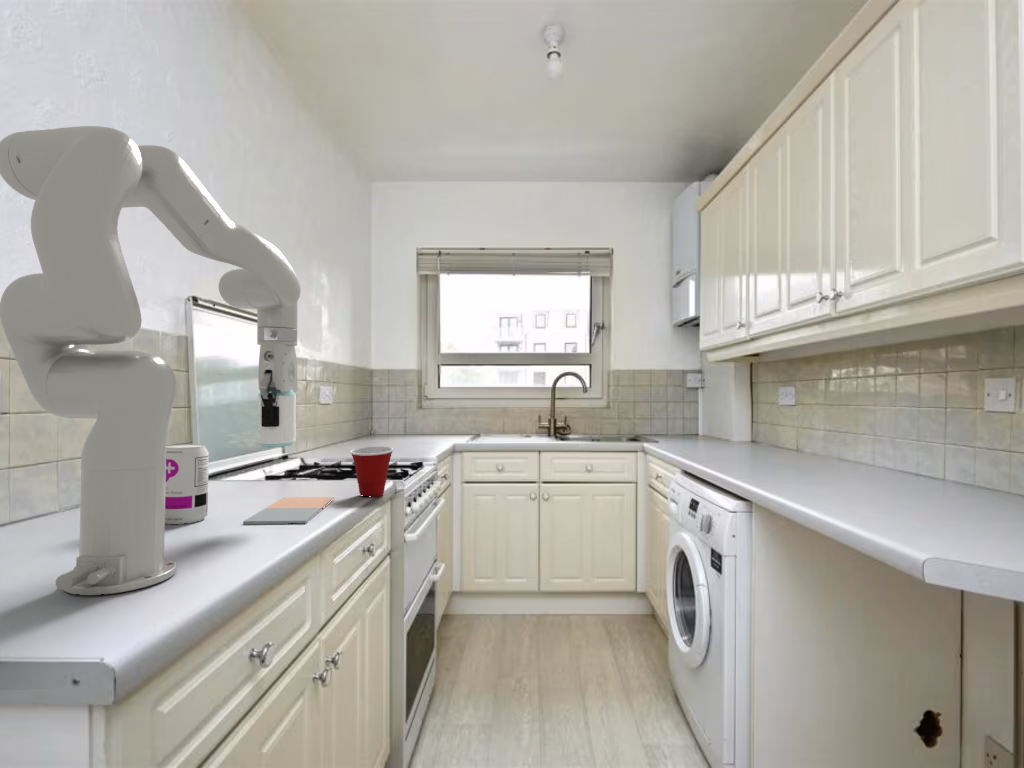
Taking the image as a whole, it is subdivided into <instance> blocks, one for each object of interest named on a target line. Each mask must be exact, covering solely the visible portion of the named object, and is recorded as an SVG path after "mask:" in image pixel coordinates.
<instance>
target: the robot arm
mask: <svg viewBox="0 0 1024 768" xmlns="http://www.w3.org/2000/svg"><path fill="white" fill-rule="evenodd" d="M0 176H1V178H2V179H3V181H4V182H6V184H7V185H8V186H9V187H10V188H12V189H13V190H14V191H15V192H17V193H18V194H20V195H22V196H24V197H25V198H28V199H30V200H34V203H33V207H32V211H31V216H30V233H31V237H32V238H31V239H32V243H33V245H34V249H35V251H36V255H37V258H38V261H39V265H40V269H41V273H32V274H31V273H30V274H28V275H27V274H26V275H24V276H20V277H17V278H16V279H15V280H13V281H12V282H11V283H9V284H8V285H7V287H6V288H5V290H4V291H3V292H2V295H1V299H0V323H1V327H2V329H3V332H4V334H5V337H6V339H7V341H8V344H9V346H10V348H11V350H12V354H14V358H15V360H16V362H17V365H18V367H19V369H20V372H21V374H22V375H23V378H24V381H25V383H26V384H27V387H28V389H29V391H30V393H31V395H32V397H33V398H34V400H35V401H36V402H37V404H38V405H39V406H40V407H41V408H42V409H43V410H45V411H46V412H47V413H49V414H51V415H54V416H57V417H61V418H67V419H89V420H91V419H92V420H93V419H94V420H95V419H96V421H95V422H94V424H93V426H92V427H91V429H90V432H89V433H88V435H87V437H86V438H85V441H84V443H83V447H82V452H81V460H80V461H81V464H80V469H81V474H80V475H81V477H80V508H79V509H80V514H79V515H80V517H79V547H78V548H79V551H78V553H79V554H78V556H77V557H76V559H75V560H76V563H75V567H74V568H73V569H71V570H69V571H67V572H64V573H63V574H60V575H59V576H57V578H56V579H55V586H56V588H57V589H59V590H60V591H65V592H66V593H68V594H71V595H76V594H80V595H79V596H100V595H101V594H104V595H112V594H119V593H125V592H131V591H135V590H139V589H143V588H146V587H151V586H153V585H156V584H159V583H162V582H164V581H166V580H168V579H169V578H171V577H173V576H174V575H175V574H176V573H177V562H175V560H173V559H171V558H165V529H166V528H165V527H166V526H165V525H166V524H165V490H166V446H168V444H167V442H168V441H167V440H168V430H169V423H170V420H171V419H170V418H171V415H172V410H173V406H174V402H175V399H176V394H177V378H176V374H175V372H174V370H173V368H172V367H171V365H170V364H169V363H168V362H167V361H165V359H163V358H161V357H159V356H157V355H156V354H153V353H150V352H145V351H139V350H98V351H96V350H95V351H93V350H90V346H89V345H91V346H92V345H93V346H95V345H98V346H99V345H100V346H101V345H113V344H120V343H123V342H126V341H129V340H132V338H134V337H135V336H137V334H138V333H139V331H140V330H141V327H142V321H143V320H142V313H141V308H140V304H139V300H138V297H137V294H136V291H135V288H134V285H133V283H132V280H131V276H130V272H129V270H128V267H127V264H126V260H125V258H124V253H123V251H122V247H121V244H120V240H119V234H118V225H119V224H118V223H119V219H120V214H121V211H122V209H125V208H141V207H142V208H146V209H148V210H149V211H150V212H151V213H152V214H153V215H154V216H155V218H157V219H158V221H160V222H161V224H163V226H164V227H165V228H166V229H167V230H168V231H169V232H170V233H171V234H172V236H174V238H175V239H176V240H177V241H178V242H179V243H180V245H182V246H183V248H185V249H186V250H187V251H189V252H190V253H193V254H196V255H197V256H201V257H203V258H206V259H210V260H213V261H216V262H220V263H224V264H228V265H231V266H236V267H238V268H236V269H232V270H228V271H227V272H225V273H224V274H222V276H221V277H220V279H219V282H218V291H219V295H220V297H221V298H222V300H223V301H224V302H225V303H227V304H228V305H230V306H231V307H233V308H237V309H243V310H244V309H245V310H246V309H248V310H249V309H253V310H256V311H257V312H256V313H257V319H256V320H257V324H256V325H257V326H256V327H257V330H256V331H257V332H256V333H257V335H256V337H257V338H256V339H257V342H256V344H257V345H259V346H260V347H259V357H258V358H259V359H258V374H257V375H258V378H257V379H258V380H257V381H258V390H259V393H260V392H261V399H262V400H261V406H262V427H278V426H279V406H277V404H278V398H279V392H280V391H281V393H287V392H289V391H290V390H291V388H290V387H293V388H292V390H293V391H294V393H296V392H297V391H298V388H299V386H298V383H299V381H298V366H297V365H298V364H297V353H296V347H297V346H298V301H299V299H300V297H301V291H302V290H301V283H300V280H299V277H298V275H297V273H296V272H295V270H294V269H293V267H292V265H291V264H290V263H289V261H288V259H287V258H286V257H285V256H284V254H283V253H282V252H281V251H280V249H278V248H277V247H276V246H275V245H274V244H273V243H271V242H269V240H266V239H265V238H263V237H262V236H260V235H258V234H257V233H255V232H253V231H251V230H249V229H248V228H246V227H244V226H242V225H240V224H239V223H237V222H235V221H233V220H231V219H230V218H229V217H228V216H227V215H226V213H225V212H224V211H223V209H222V208H221V207H220V205H219V204H218V203H217V202H216V200H215V199H214V198H213V197H212V195H211V194H210V193H209V192H208V190H207V189H206V187H205V186H204V185H203V183H202V182H201V181H200V180H199V178H198V177H197V175H196V174H195V173H194V171H192V169H191V168H190V166H189V165H188V164H187V163H186V162H185V161H184V160H183V158H182V157H180V155H179V154H178V153H177V152H174V150H171V149H169V148H168V147H164V146H161V145H155V144H153V145H151V144H150V145H146V144H145V145H144V144H141V145H137V144H136V142H135V140H133V139H132V137H130V136H129V135H128V134H127V133H125V132H122V131H120V130H118V129H115V128H113V127H112V128H111V127H106V126H95V125H90V126H89V125H85V126H82V125H81V126H80V125H79V126H70V127H69V126H68V127H60V128H59V127H58V128H51V129H36V130H25V131H18V132H13V133H11V134H8V135H7V136H5V137H4V138H3V139H1V140H0ZM270 389H275V390H276V391H269V390H270ZM272 395H274V399H273V396H272ZM101 596H102V595H101Z"/></svg>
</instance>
